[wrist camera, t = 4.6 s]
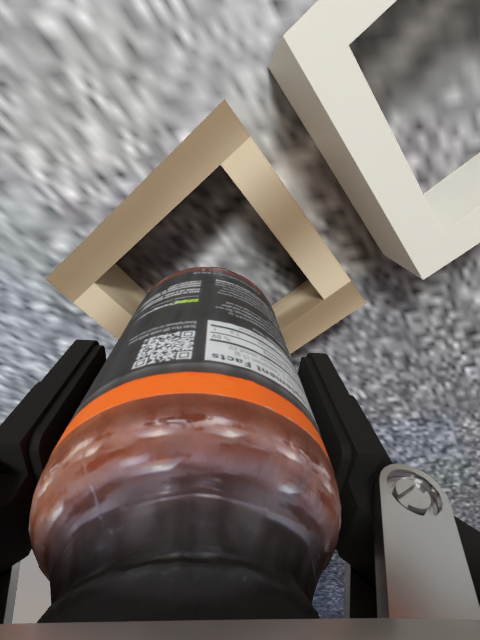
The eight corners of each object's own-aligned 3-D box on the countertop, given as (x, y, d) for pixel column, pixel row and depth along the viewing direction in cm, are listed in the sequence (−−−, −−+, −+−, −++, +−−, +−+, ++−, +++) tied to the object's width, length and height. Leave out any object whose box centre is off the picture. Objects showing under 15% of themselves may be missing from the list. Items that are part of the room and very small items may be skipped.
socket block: (587, 109, 15) (726, 92, 11) (383, 254, 18) (431, 285, 13) (519, -184, 11) (703, -394, 7) (267, 66, 13) (286, 29, 9)
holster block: (345, 281, 18) (366, 302, 16) (207, 378, 21) (205, 411, 18) (224, 109, 14) (224, 99, 11) (73, 259, 17) (45, 279, 14)
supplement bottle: (205, 405, 16) (171, 855, 5) (108, 324, 13) (-252, 815, 3) (303, 333, 14) (513, 767, 4) (212, 229, 12) (144, 587, 2)
